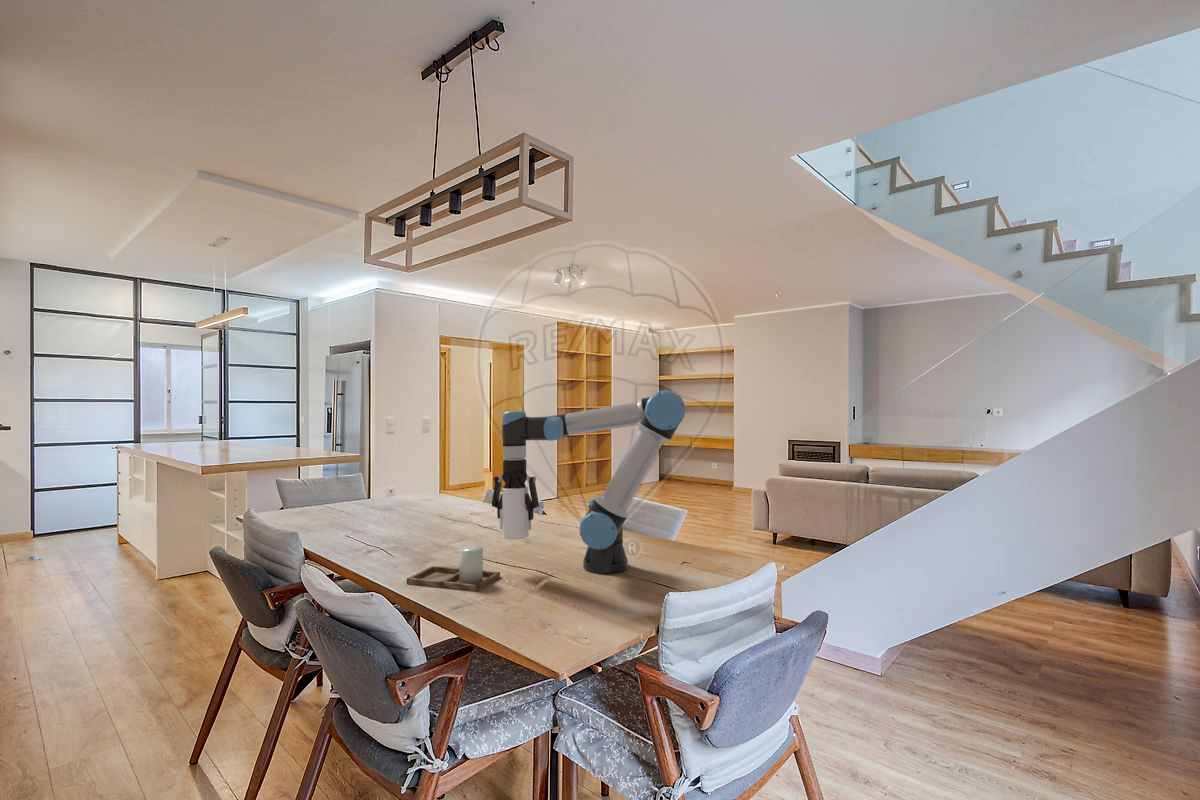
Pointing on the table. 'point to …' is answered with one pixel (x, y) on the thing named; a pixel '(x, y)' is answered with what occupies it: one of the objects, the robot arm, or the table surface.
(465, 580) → the pale green rounded cylinder
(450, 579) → the caddy
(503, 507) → the cup
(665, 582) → the table surface
